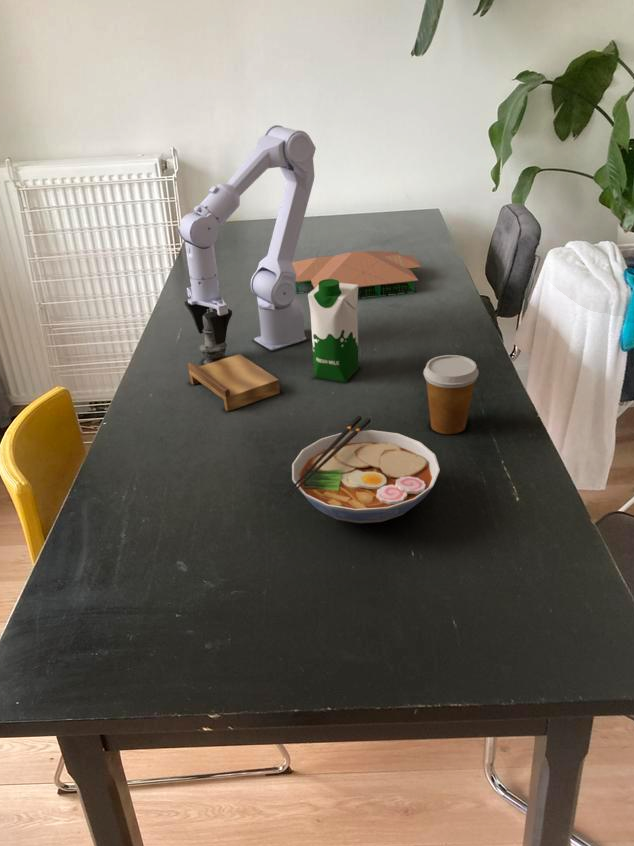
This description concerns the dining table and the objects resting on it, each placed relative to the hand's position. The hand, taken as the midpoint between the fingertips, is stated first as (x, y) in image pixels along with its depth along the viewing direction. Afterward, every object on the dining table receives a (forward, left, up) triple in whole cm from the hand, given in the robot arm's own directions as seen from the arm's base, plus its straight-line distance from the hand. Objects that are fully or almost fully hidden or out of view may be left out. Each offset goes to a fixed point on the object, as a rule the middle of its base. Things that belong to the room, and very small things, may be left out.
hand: (211, 337), depth 172 cm
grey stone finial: (0, 0, -6) cm, 6 cm away
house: (-51, -18, -6) cm, 54 cm away
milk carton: (-17, +22, -6) cm, 28 cm away
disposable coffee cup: (-20, +53, -6) cm, 57 cm away
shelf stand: (+3, +14, -6) cm, 15 cm away
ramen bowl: (+7, +64, -6) cm, 65 cm away
